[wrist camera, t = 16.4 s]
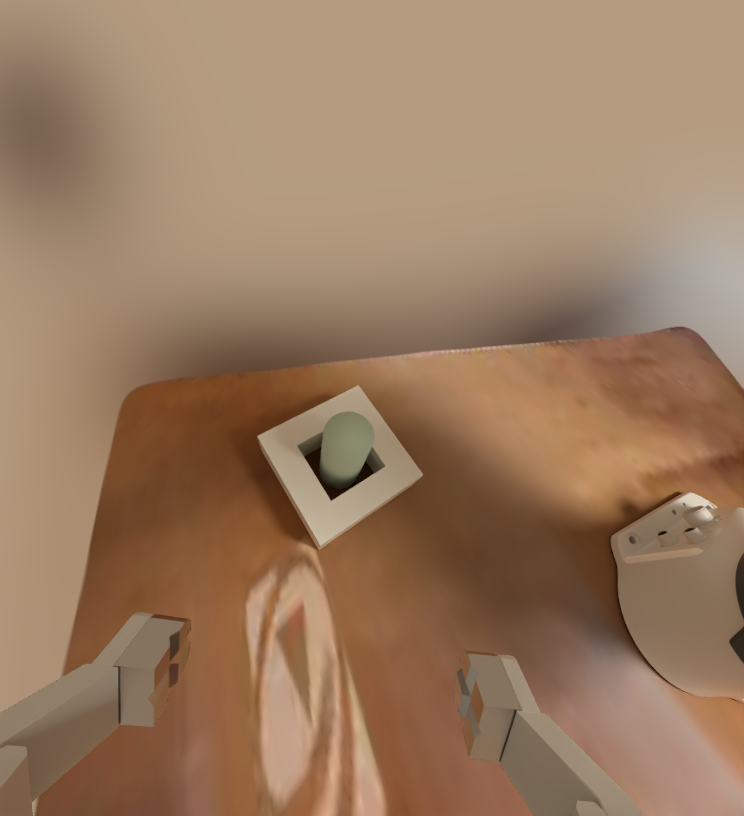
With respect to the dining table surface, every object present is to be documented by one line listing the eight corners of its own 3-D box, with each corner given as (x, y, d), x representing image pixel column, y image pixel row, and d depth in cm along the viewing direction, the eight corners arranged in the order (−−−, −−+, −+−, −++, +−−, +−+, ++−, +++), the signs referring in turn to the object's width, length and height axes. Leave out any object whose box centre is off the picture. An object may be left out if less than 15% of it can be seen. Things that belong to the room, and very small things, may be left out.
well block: (353, 403, 42) (358, 385, 38) (411, 486, 38) (423, 475, 34) (261, 451, 37) (256, 435, 33) (318, 550, 34) (320, 545, 30)
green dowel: (345, 443, 39) (356, 403, 31) (366, 475, 38) (384, 442, 29) (311, 463, 38) (313, 426, 29) (332, 496, 36) (341, 469, 28)
